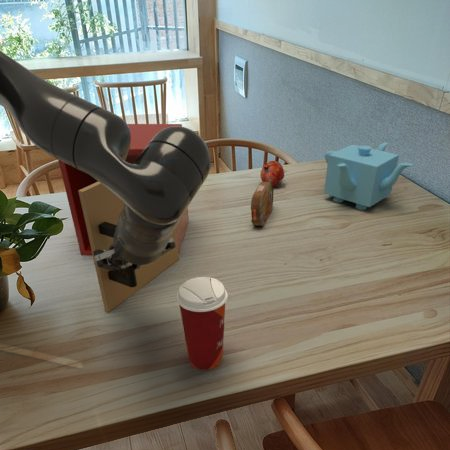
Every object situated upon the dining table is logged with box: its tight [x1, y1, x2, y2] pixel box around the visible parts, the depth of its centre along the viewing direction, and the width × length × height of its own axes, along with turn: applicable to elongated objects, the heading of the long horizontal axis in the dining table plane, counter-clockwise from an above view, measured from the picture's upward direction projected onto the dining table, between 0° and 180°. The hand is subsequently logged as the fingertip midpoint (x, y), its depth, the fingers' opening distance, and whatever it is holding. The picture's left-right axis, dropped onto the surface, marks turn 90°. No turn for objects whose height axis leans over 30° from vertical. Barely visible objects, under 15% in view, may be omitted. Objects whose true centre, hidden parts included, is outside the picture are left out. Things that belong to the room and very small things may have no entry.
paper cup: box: [175, 276, 229, 371], centre depth 70 cm, size 8×8×14 cm
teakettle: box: [323, 141, 414, 211], centre depth 120 cm, size 19×19×15 cm
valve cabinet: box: [57, 123, 190, 257], centre depth 102 cm, size 18×22×24 cm
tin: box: [250, 181, 274, 227], centre depth 114 cm, size 15×3×8 cm, turn 163°
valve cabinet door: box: [79, 181, 180, 313], centre depth 84 cm, size 7×22×24 cm, turn 148°
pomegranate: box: [259, 160, 285, 188], centre depth 133 cm, size 7×7×10 cm
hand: (128, 265), depth 79 cm, fingers closed on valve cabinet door
